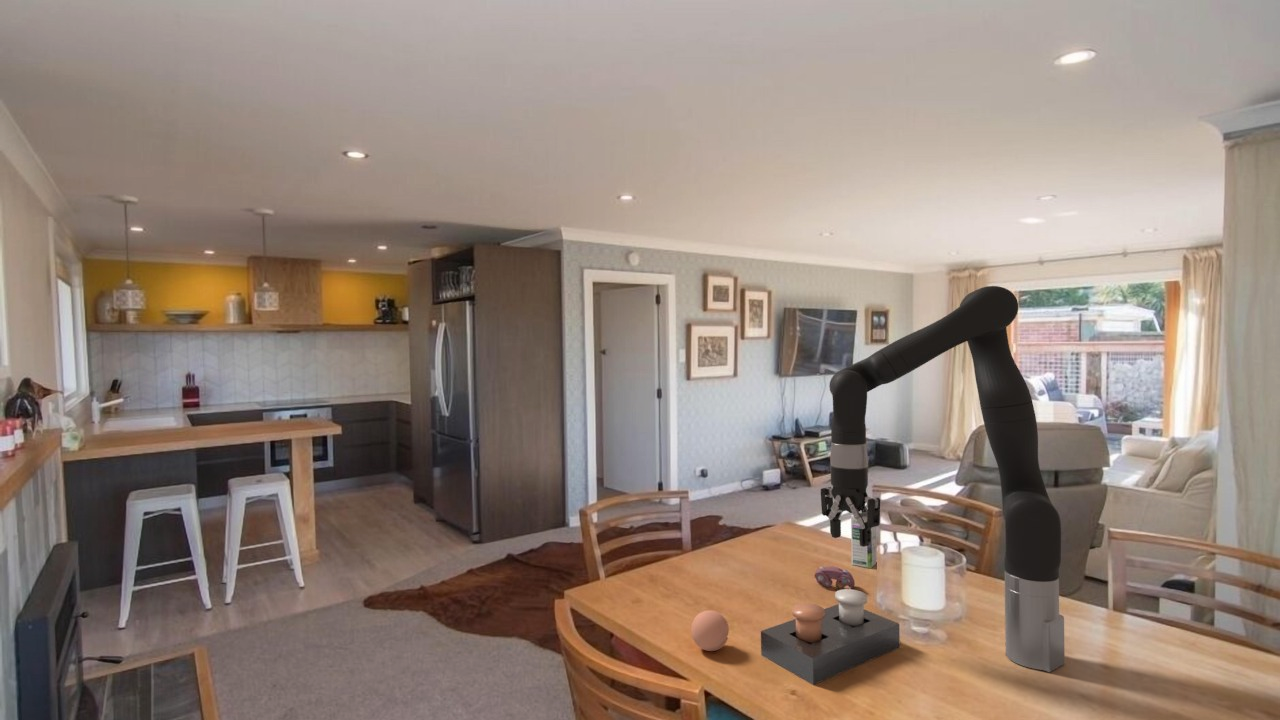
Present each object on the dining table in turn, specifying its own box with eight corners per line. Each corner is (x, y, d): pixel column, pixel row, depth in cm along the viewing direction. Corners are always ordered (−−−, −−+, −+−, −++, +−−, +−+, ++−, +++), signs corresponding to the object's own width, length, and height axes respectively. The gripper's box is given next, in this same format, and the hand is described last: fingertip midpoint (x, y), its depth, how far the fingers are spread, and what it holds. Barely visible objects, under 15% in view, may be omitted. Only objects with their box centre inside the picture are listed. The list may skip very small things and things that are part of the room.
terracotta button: (832, 638, 126) (831, 611, 126) (809, 647, 122) (809, 618, 122) (807, 627, 131) (807, 600, 131) (785, 635, 128) (785, 607, 128)
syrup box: (851, 565, 181) (850, 515, 181) (857, 559, 186) (856, 510, 186) (871, 569, 178) (870, 518, 178) (877, 563, 183) (876, 513, 182)
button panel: (899, 647, 131) (899, 623, 131) (813, 684, 118) (812, 658, 117) (845, 623, 143) (845, 601, 143) (761, 655, 129) (760, 631, 129)
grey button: (873, 622, 133) (873, 596, 133) (853, 630, 129) (853, 603, 129) (849, 612, 138) (848, 586, 138) (829, 619, 135) (828, 593, 135)
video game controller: (815, 591, 167) (812, 571, 164) (818, 578, 170) (815, 558, 167) (853, 597, 162) (851, 577, 159) (856, 584, 166) (853, 564, 163)
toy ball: (735, 646, 133) (734, 609, 133) (719, 661, 127) (718, 623, 127) (702, 637, 138) (701, 601, 138) (684, 652, 131) (684, 614, 131)
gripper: (889, 466, 129) (890, 546, 129) (834, 457, 141) (835, 530, 142) (865, 471, 125) (866, 553, 125) (810, 461, 137) (811, 536, 138)
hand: (850, 541), depth 134 cm, fingers open, 7 cm apart
